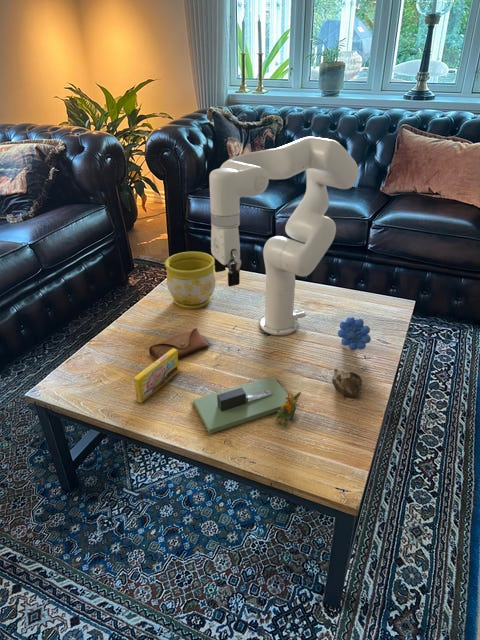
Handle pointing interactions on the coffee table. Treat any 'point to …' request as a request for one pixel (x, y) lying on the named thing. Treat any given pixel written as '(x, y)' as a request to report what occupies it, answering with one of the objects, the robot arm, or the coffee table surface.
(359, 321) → the blue flower shape
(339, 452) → the coffee table surface
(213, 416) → the sage board
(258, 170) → the robot arm
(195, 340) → the sunglasses case
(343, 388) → the fossilized seashell
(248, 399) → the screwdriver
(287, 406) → the figurine
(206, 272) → the flowerpot
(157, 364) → the candy box
